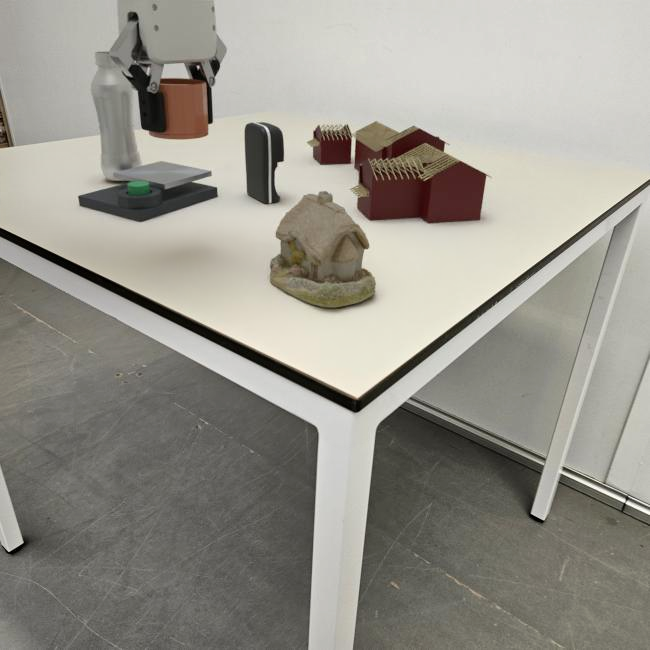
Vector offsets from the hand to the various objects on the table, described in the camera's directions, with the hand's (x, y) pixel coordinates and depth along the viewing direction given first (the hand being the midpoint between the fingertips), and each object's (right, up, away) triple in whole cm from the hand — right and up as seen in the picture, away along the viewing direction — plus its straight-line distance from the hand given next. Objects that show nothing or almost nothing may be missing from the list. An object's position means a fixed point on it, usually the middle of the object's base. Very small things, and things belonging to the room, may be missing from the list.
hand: (178, 125), depth 67 cm
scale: (-10, -3, +25) cm, 28 cm away
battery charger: (+7, -2, +28) cm, 29 cm away
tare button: (-10, -4, +19) cm, 22 cm away
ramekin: (0, -1, 0) cm, 1 cm away
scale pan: (-9, +1, +26) cm, 28 cm away
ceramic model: (+16, -18, 0) cm, 24 cm away
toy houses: (+26, +3, +39) cm, 47 cm away
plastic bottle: (-18, +2, +36) cm, 40 cm away
